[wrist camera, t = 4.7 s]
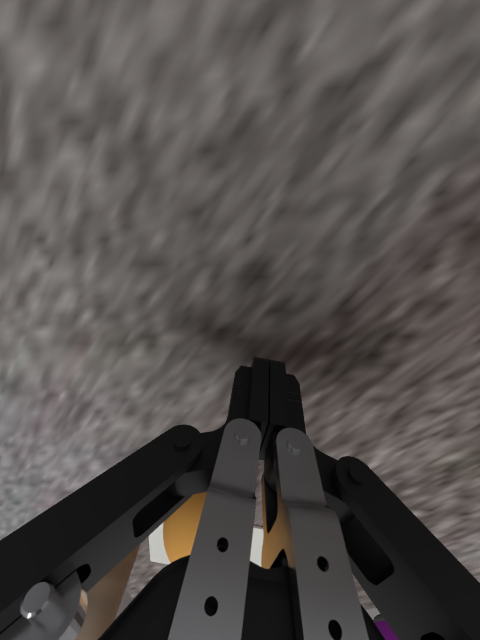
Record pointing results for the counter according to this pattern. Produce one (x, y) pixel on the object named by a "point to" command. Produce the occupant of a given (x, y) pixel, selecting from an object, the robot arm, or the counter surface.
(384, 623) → the beverage can
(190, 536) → the ball
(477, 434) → the counter surface
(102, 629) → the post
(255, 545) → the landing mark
